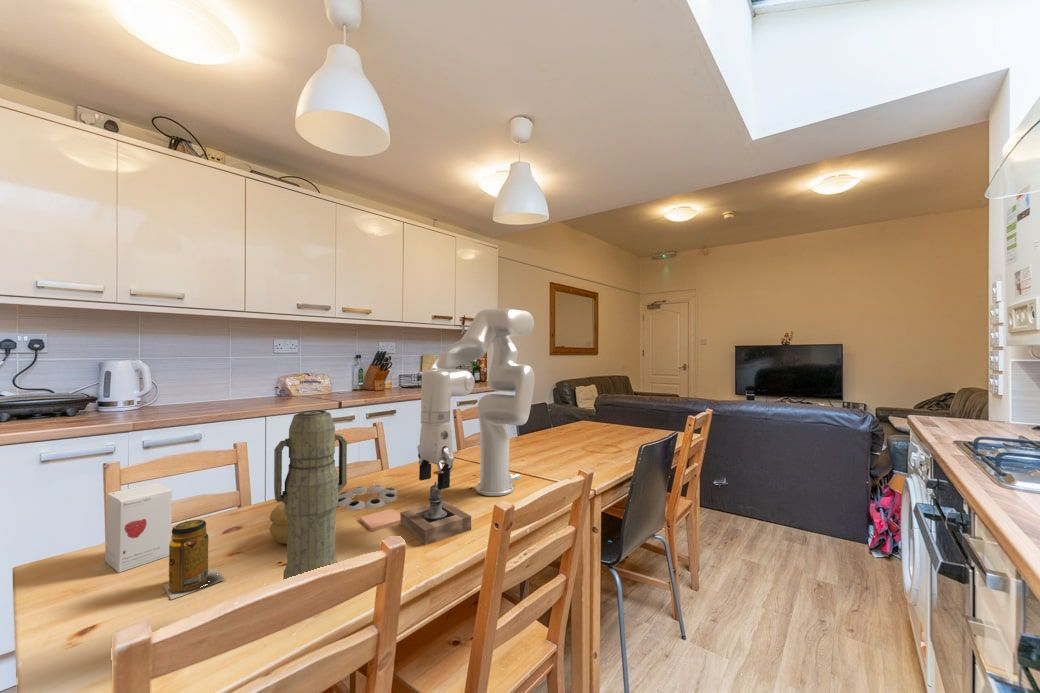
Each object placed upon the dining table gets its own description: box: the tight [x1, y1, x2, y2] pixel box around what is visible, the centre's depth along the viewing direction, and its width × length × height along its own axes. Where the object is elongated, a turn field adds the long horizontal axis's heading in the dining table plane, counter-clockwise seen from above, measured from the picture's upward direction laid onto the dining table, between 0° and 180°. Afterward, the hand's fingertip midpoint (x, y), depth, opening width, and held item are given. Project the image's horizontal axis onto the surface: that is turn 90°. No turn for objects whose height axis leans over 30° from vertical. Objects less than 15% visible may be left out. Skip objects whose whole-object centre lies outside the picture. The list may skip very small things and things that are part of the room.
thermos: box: [273, 409, 348, 580], centre depth 75 cm, size 9×12×35 cm
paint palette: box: [337, 484, 398, 511], centre depth 128 cm, size 20×20×2 cm
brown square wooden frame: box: [399, 500, 472, 546], centre depth 107 cm, size 13×14×4 cm
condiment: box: [162, 519, 226, 600], centre depth 82 cm, size 7×8×12 cm
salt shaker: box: [424, 481, 447, 523], centre depth 107 cm, size 6×6×12 cm
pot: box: [268, 502, 287, 545], centre depth 101 cm, size 12×12×10 cm
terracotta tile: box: [359, 508, 400, 532], centre depth 111 cm, size 9×9×1 cm
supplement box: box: [104, 482, 173, 573], centre depth 91 cm, size 9×9×15 cm
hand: (434, 483), depth 107 cm, fingers open, 9 cm apart
